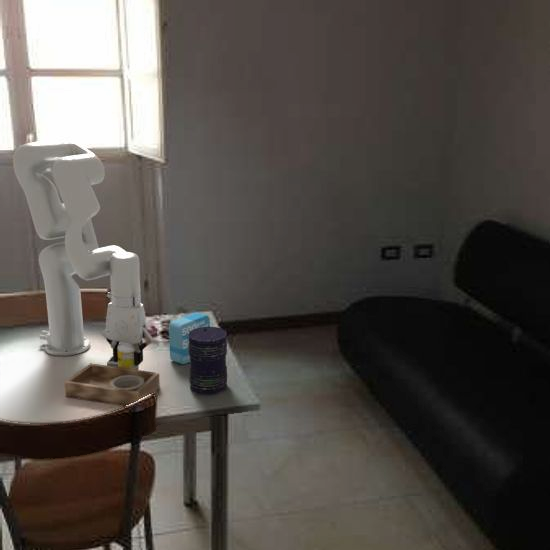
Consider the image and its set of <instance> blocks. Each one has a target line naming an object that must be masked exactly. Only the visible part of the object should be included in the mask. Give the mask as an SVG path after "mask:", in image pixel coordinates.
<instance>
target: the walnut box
mask: <svg viewBox="0 0 550 550" xmlns="http://www.w3.org/2000/svg"><path fill="white" fill-rule="evenodd" d="M160 384H161V383H160V372H155V371H148V370H147V371H146V370H140V369H138V370H134V369H127V368H121V367H114V366H107V364H99V363H92V362H90V363H88V365H86V366H85V367H84V368H82V369H81V370H79V371H78V372H76V373H75V374H74V375H72V376H71V377H70V378H69V379H67V380H66V381H65V382H64V389H65V390H64V391H65V398H70V399H78V400H83V401H90V402H94V403H95V402H97V403H101V404H107V405H112V406H113V405H115V406H120V407H125V406H126V405H129V404H131V403H134V402H136V401H138V400H139V399H141V398H143V397H145V396H147V395H149V394H152V393H153V394H155V392H156V391H157V390H159V388H161V386H160ZM153 394H152V395H153Z"/></svg>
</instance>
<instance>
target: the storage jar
mask: <svg viewBox="0 0 550 550" xmlns="http://www.w3.org/2000/svg"><path fill="white" fill-rule="evenodd" d="M227 334H228V333H227V331H226V330H225V329H223V328H220V327H217V326H210V327H200V328H196V329H193V330H191V331H190V332H189V334H188V335H189V343H188V348H189V355H190V362H189V377H188V379H189V389H190V391H191V392H192V393H193V394H195V395H199V396H205V397H207V396H216V395H219V394H223V392H225V391H226V390H227V388H228V367H227V354H228V349H227V348H228V341H227V340H228V339H227Z"/></svg>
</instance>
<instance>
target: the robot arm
mask: <svg viewBox="0 0 550 550" xmlns="http://www.w3.org/2000/svg"><path fill="white" fill-rule="evenodd" d="M12 165H13V171H14V174H15V176H16V178H17V181H18V183H19V185H20V186H21V188H22V190H23V192H24V195H25V197H26V201H27V204H28V209H29V211H30V215H31V218H32V222H33V225H34V230H35V231H36V234H37V235H38V237H39V238H40V239H42V240H46V241H50V240H51V241H52V240H56V239H57V240H58V239H62V238H64V241H63V242H58V243H54V244H50V245H48V246H46V247H44V248H43V249H42V250H41V252H40V253H39V255H38V265H39V268H40V272H41V274H42V278H43V283H44V289H45V298H46V308H47V309H46V311H47V319H48V321H47V322H48V330H41V331H40V336H39V340H43V341H46V342H47V343H46V344H45V351H46V353H48V354H50V355H52V356H56V357H57V356H61V357H67V356H74V355H77V354H80V353H83V352H85V351H87V350H88V349H90V346H91V341H90V339H88V338H86V337H85V333H84V322H83V321H84V320H83V307H82V296H81V289H80V285H79V284H78V283H77V282H76V281H75V279H74V278H73V275H75V274H76V275H77V276H78V277H79V278H80V279H82V280H84V281H93V280H96V279H100V278H103V277H106V276H107V277H108V276H109V277H110V278H109V279H110V281H109V283H110V292H107V294H106V297H107V298H108V299H110V302H109V303H108V305H107V308H106V309H107V310H106V319H105V328H104V329H103V330H102V331H101V332H100V333H101V336H102V337H103V338H104V339H105V340H106V342H107V343H108V344H109V346H110V348H111V349H112V356H113V358H114V362H118V350H117V347H118V345H119V344H120V342H125V343H131V344H134V346H135V349H136V352H135V353H134V364H135V366H138V365H141V363H143V361H144V349H145V348H147V347H148V346H149V345H150V344H152V343H153V342H154V340H155V339H154V338H153V335H151V333H150V332H149V331H148V329H147V328H148V327H147V318H146V311H145V307H144V304H143V303H142V302H141V273H140V271H141V270H140V267H141V266H140V257H139V256H138V254H137V253H135V252H130V251H126V250H125V249H123V248H122V247H121V246H118V245H115V244H114V245H112V244H111V245H107V246H104V247H102V246H101V247H99V243H98V241H97V240H98V239H97V235H96V232H95V229H94V225H93V222H92V221H93V220H92V218H93V217H95V216H96V215H97V214H98V213H99V212H100V210H101V205H100V203H99V200H98V198H97V195H96V193H95V191H94V189H93V187H92V186H93V185H98V184H99V185H100V184H101V183H102V182H103V180H104V179H105V174H106V170H105V167H104V166H105V165H104V164H103V162H102V160H101V159H100V158H99V157H98V156H97V155H96V154H95V153H93V152H92V151H90V150H89V149H87V148H85V146H82V145H80V144H79V143H77V142H75V141H74V140H70V139H54V140H42V141H39V140H38V141H33V142H27V143H24V144H22V145H20V146H18V147H17V148H16V149H15V151H14V154H13V157H12ZM45 173H50V175H51V177H52V180H53V181H54V183H53V182H52V181H51V179H49V178H48V177H47V176H46V175H44V174H45ZM60 198H61V199H60ZM61 201H62V202H61ZM143 339H145V341H143Z"/></svg>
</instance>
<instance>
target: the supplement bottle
mask: <svg viewBox="0 0 550 550" xmlns="http://www.w3.org/2000/svg"><path fill="white" fill-rule="evenodd" d="M117 350H118V367H121V368H127V369H134V370H140V369H139V365H140V364H139V365H138V366H135V364H134V353H135V352H136V349H135V346H134V344H131V343H125V342H120V344H119V345H118V347H117Z"/></svg>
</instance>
